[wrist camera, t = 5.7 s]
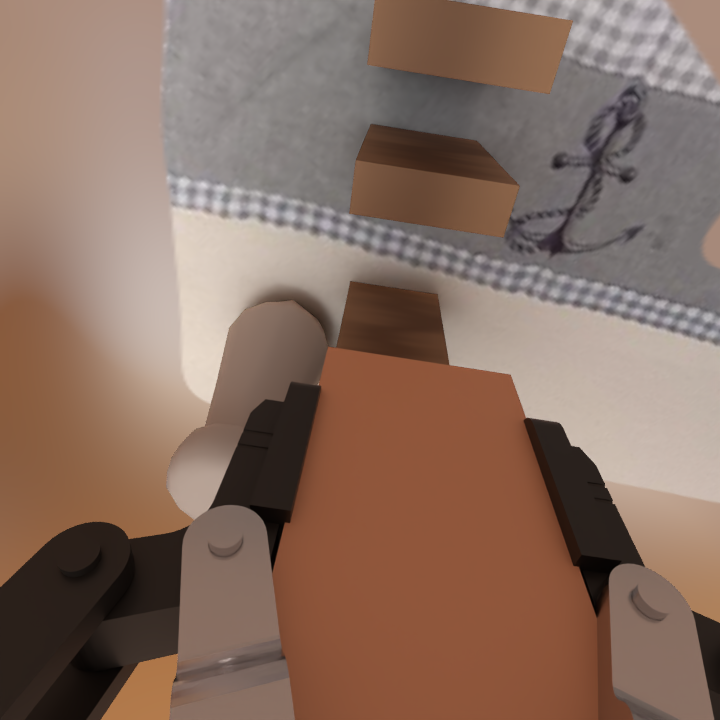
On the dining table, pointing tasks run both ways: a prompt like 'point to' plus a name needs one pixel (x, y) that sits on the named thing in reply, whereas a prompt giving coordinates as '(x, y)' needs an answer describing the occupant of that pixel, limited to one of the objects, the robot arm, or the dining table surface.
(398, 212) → the domino
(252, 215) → the dining table surface
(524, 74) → the domino
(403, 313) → the domino
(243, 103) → the dining table surface
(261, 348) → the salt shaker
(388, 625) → the domino
